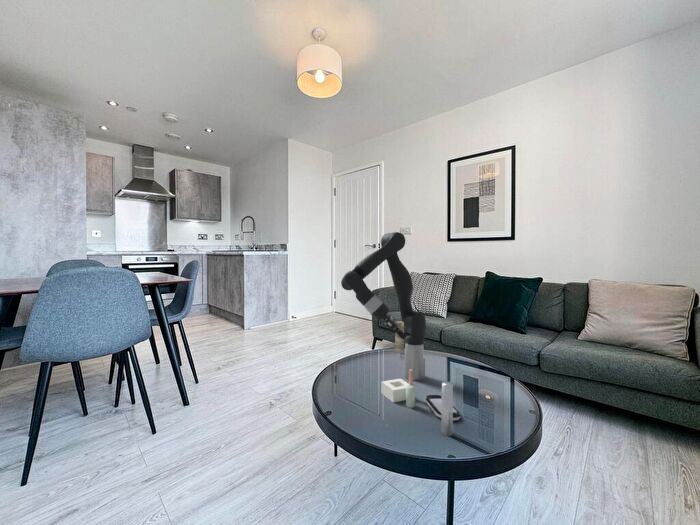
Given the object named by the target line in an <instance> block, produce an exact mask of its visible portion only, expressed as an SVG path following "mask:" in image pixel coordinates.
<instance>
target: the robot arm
mask: <svg viewBox="0 0 700 525" xmlns="http://www.w3.org/2000/svg"><path fill="white" fill-rule="evenodd" d="M380 245H381V247H380V248H378V249H377V250H375V251H373V252H372V253H370V254H368V255H367V256H365V257H364V258H362V259H361V260H360V261H359V262H358V263H357V264H356V265H355V267H354V268H353V269H352V270H349V271H347V272H345V274H344V276H343V277H342V279H341V281H340V282H341V287H342V289H344V290H345V291H353V293H355V298H356V300H357V301H358V302H359V303H360V304H361V305H362V306H363V307H364V309H366V311H367V312H368V313H369V314H370V316H372V318H374V319H375V321H377V322H380V321H381V320H382V321H383V323H384V324H385V326H387V327H388V328H389V329H390V330H391V331H392V332H393V333H394V334H395V333H397V334H398V335H399V336H400V337H401V338H402V339H404V346H405V347H404V377H405V378H406V379H408V380H409V369H412V370H413V381H421V380H423V379H425V378H426V359H425V358H424V341H425V338H426V328H427V326H426V324H427V321H426V317H425V315H424V314H423V313H421V312H418V311H414V309H413V304H412V301H411V300H412V296H413V295H412V294H413V290H414V288H413V287H414V284H413V281H412V276H411V274H410V271H408V269H407V267H406V266H405V265H404V264H403V262H402V261H401V259H400V257H399V253H398V252H399V251H401V250H402V249H403V248H404V247H405V246H406V237H405V235H404V234H403V233H401V232H398V231H395V232H390V233H389V232H388V233H385V234H383V235H382V237H381V238H380ZM385 261H386V262H387V265H388V268H389V272H390V275H391V279H392V283H393V286H394V290H395V293H396V298H397V301H398V305H399V310H400V319H401V322H404V328H406V329H408V330H410V335H407V333H406V332H405V331H404V333H403V332H402V331H401V330H400V328H399V327H398V326H397V323H396V322H397V320H395V319H394V317H393V316H392V315H389V314H388V313H389V312H390V310H391V309H390V307H388V306H387V305H386V304H385V302H383V301H382V300H381V298H379V297H378V296H377V295H376V294H375V293H374V292H373V291H372V290H371V289H370V288H369V287H368V286H367V284H366V282H365V281H364V279H365V278H367V277H368V276H369V275H370V274H371V273H372V272H373V271H374V270H375V269H377V268H378V266H380V265H381V264H383V262H385ZM395 327H396V329H395Z"/></svg>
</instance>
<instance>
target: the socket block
mask: <svg viewBox="0 0 700 525" xmlns="http://www.w3.org/2000/svg"><path fill="white" fill-rule="evenodd" d="M380 384H381V385H380V386H381V389H380V390H381V392H380V393H381V394H382V395H383V396H385V397H386V398H387V399H388V400H389V401H390V402H392V403H397V402H402V401H403V402H404V401H406V386H407V385H412V386H414V380H413V370H412V369H409V379H408V382H407V381H405V380H404V379H402V378H395V379H391V380H390V379H389V380H384V381H381V383H380Z"/></svg>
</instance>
